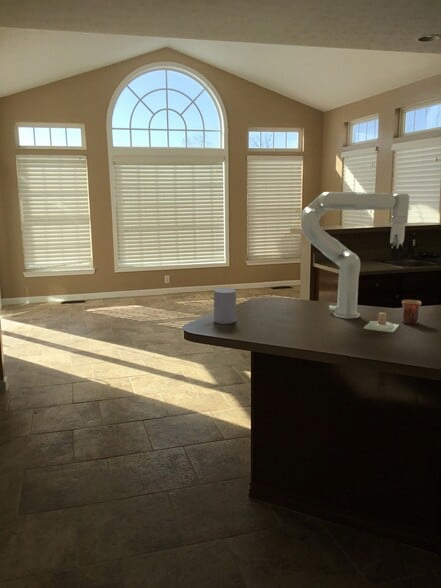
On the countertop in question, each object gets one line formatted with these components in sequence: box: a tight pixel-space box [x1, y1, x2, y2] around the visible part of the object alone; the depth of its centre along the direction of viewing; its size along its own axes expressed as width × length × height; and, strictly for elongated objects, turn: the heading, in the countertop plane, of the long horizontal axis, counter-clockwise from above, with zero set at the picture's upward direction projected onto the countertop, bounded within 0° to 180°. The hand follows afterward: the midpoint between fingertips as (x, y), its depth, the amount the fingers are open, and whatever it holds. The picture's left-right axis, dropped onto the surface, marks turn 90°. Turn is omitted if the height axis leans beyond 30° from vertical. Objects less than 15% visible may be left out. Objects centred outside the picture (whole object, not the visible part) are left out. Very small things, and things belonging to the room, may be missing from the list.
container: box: [213, 287, 237, 325], centre depth 246 cm, size 10×10×15 cm
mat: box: [363, 320, 400, 334], centre depth 239 cm, size 13×13×1 cm
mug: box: [401, 299, 422, 325], centre depth 244 cm, size 12×9×10 cm
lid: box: [370, 311, 394, 329], centre depth 238 cm, size 10×10×6 cm
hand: (396, 255), depth 252 cm, fingers open, 9 cm apart
